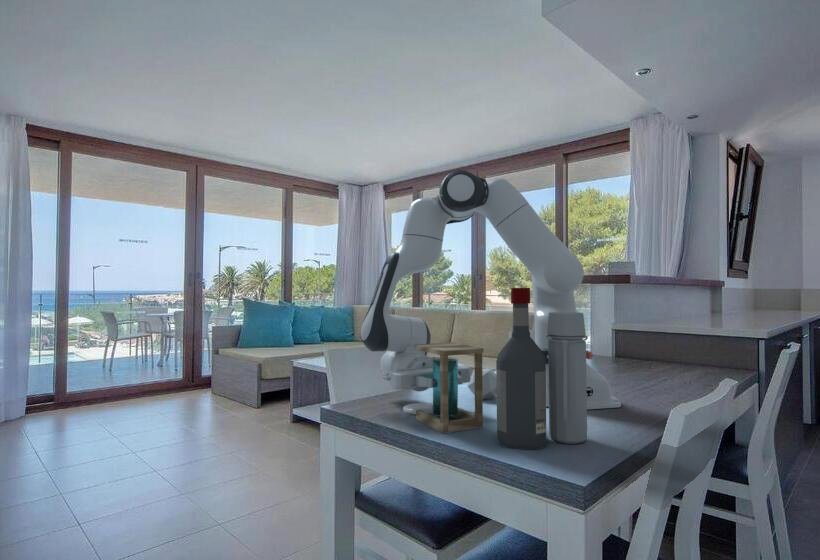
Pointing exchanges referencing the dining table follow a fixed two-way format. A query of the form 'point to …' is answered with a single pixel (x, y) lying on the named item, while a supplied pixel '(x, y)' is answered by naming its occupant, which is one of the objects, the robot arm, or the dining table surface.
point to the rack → (465, 417)
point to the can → (451, 386)
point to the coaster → (418, 408)
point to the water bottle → (567, 377)
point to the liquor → (521, 383)
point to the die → (485, 384)
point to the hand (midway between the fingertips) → (447, 382)
